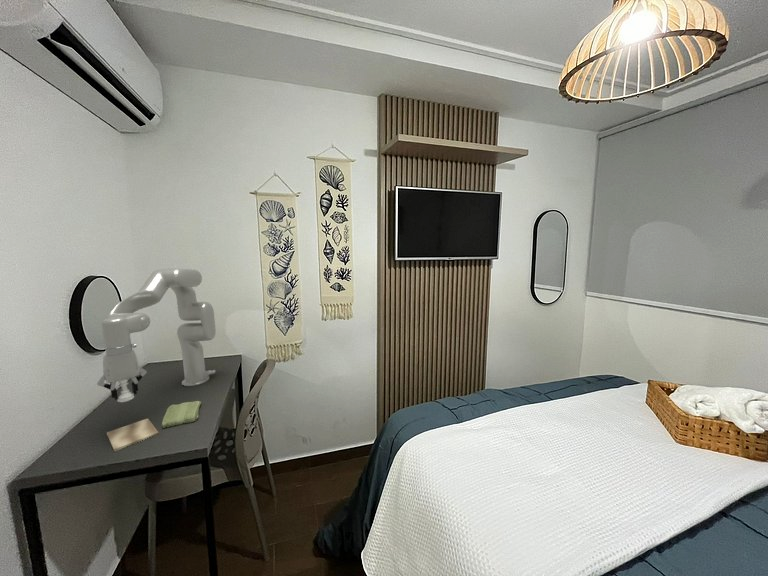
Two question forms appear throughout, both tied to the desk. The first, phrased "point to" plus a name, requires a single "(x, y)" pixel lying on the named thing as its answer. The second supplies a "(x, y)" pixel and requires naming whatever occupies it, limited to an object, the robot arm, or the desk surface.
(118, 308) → the robot arm
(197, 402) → the washcloth
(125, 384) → the chess pawn
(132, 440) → the oak pad
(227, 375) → the desk surface
